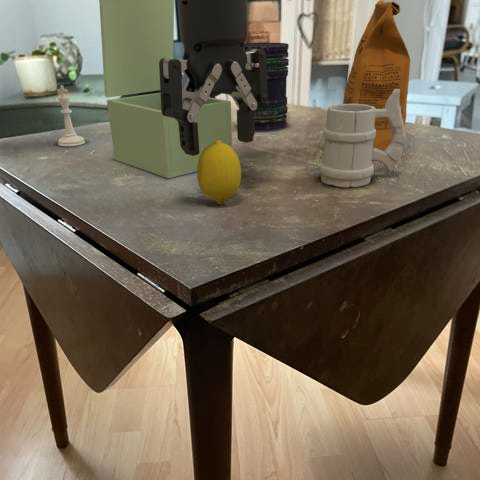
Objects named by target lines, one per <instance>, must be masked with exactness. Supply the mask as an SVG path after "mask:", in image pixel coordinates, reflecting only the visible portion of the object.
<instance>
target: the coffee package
mask: <svg viewBox="0 0 480 480" xmlns="http://www.w3.org/2000/svg"><path fill="white" fill-rule="evenodd" d="M400 12H401V6H400V4H399V3H397V2H396V1H394V0H392V1H384V0H378V1H377V2H376V3H375V4H374V9H373V12H372V15H371V16H370V19H369V20H368V22H367V24H366V27H365V29H364V31H363V33H362V35H361V38H360V40H359V42H358V44H357V47H356V50H355V53H354V57H353V61H352V65H351V69H350V71H349V75H348V78H347V81H346V84H345V87H344V92H343V93H344V95H343V101H342V104H364V105H369V106H373V107H375V109H384V107H385V104H386V102H387V99H388V98H389V96H391V94H392V93H393V91H394V89H400V95H399V103H400V107H401V114H402V119H403V124H404V126H406V121H407V104H408V95H409V81H410V70H411V57H410V53H409V50H408V48H407V46H406V43H405V41H404V39H403V37H402V35H401V32H400V31H399V29H398V25H397V23H396V21H395V18H394V16H397V15H398V14H400ZM374 128H375V129H376V136H375V138H374V139H373V148H377V149H379V150H381V151H385V149H386V148H387V147H388V146H389V144H391V138H392V134H393V133H392V128H391V126H390V125H389V123H388V121H387V118H376V119H375V125H374Z"/></svg>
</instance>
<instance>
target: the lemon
mask: <svg viewBox="0 0 480 480" xmlns="http://www.w3.org/2000/svg"><path fill="white" fill-rule="evenodd" d="M196 178H197V182H198V185H199V188H200V190H201V192H202V193H203V194H204V195H205V196H206V197H207V198H208V199H211V200H214V202H216V203H217V204H218V205H223V204H224V202H225V201H226V200H228V199H230V198H231V197H233V196H234V195H235V194H236V193H237V191H238V190H239V187H240V185H241V181H242V167H241V162H240V158H239V156H238V153H237V152H236V151H235V150H234V149H233V147H232V148H231V147H230V146H228V145H226V144H224V143H222V142H221V141H220V140H216V141H215V142H214V143H213V144H211V145H209V146H207V147H206V148H205V149H204V150H203V151H202V153H201V154H200V157H199V160H198V165H197V171H196Z"/></svg>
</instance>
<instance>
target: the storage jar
mask: <svg viewBox="0 0 480 480" xmlns="http://www.w3.org/2000/svg"><path fill="white" fill-rule="evenodd" d="M289 47H290V46H289V43H287V42H249V43H244V49H245V52H246V50H247V49H262V50H265V52H266V64H267V88H268V100H267V101H266V102H265V103H261V104H259V105H258V106H257V108H256V110H255V132H273V131H280V130H284V129H286V128H287V127H288V126H287V125H288V123H287V118H288V115H287V114H288V109H289V107H288V97H287V81H288V80H287V77H288V76H289V67H288V66H289V65H290V64H289V63H290V62H289V61H290V59H289ZM243 75H244V77H245V78H246V80H247V77H246V68H244V71H243ZM256 83H257V82H256ZM257 91H258V84H257ZM238 110H240V108H238Z"/></svg>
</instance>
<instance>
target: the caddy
mask: <svg viewBox="0 0 480 480" xmlns="http://www.w3.org/2000/svg"><path fill="white" fill-rule="evenodd" d="M106 104H107V105H106V106H107V112H108V121H109V127H110V129H109V130H110V135H111V143H112V149H113V150H112V151H113V159H114V160H115V161H119V162H121V163H124V164H127V165H129V166H132V167H135V168H138V169H140V170H143V171H146V172H149V173H152V174H154V175H157V176H160V177H163V178H165V179H172V178H175V177H180V176H184V175H188V174H192V173H195V172H196V173H197V165H198V160H199V157H200V154H201V153H202V151H203V150H204V149H205V148H206V147H207V146H209V145H211V144H213V143H214V142H215V141H216V140H220V141H221V142H222V143H224V144H226V145H228V146H230V147H231V148H232V149H233V133H232V132H233V131H232V101H231V100H226V99H221V98H217V97H209V98H208V100H207V102H206V103H205V104H204V105H203V106H202V107H201V108H200V111H199V113H198V115H197V117H196V119H195V121H194V122H198V137H199V154H198V155H194V156H192V155H188V154H185V152H184V150H182V148H181V146H180V136H179V124H178V121H177V120H176V119H174V118H170V117H166V116H163V115H162V112H161V93H160V92H155V93H147V94H139V95H133V96H126V97H120V98H119V97H117V98H112V99H107V100H106Z"/></svg>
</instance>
